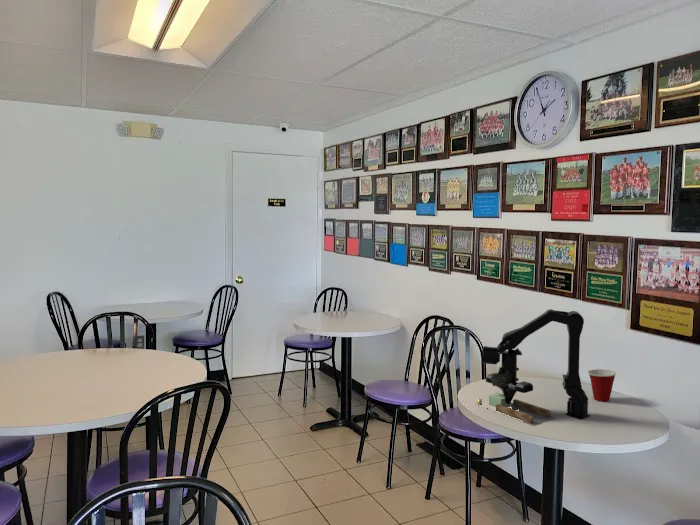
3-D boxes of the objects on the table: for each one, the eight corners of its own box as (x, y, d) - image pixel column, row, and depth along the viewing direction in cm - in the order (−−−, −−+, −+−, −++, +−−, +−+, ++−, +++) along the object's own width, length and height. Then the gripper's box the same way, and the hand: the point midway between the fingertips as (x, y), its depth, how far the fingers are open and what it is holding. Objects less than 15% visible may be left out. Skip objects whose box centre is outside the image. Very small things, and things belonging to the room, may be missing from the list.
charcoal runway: (556, 418, 201) (556, 417, 201) (533, 426, 193) (533, 425, 193) (497, 398, 224) (497, 397, 224) (474, 404, 215) (474, 404, 215)
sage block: (510, 406, 213) (510, 396, 213) (500, 409, 210) (501, 399, 209) (498, 402, 218) (498, 392, 218) (488, 405, 215) (488, 395, 214)
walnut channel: (550, 417, 202) (550, 410, 202) (530, 423, 195) (530, 417, 195) (515, 405, 215) (515, 399, 215) (495, 411, 208) (495, 405, 208)
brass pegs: (502, 399, 221) (502, 394, 221) (479, 406, 213) (479, 400, 213) (499, 398, 223) (499, 393, 222) (476, 405, 214) (476, 399, 214)
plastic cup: (588, 393, 229) (589, 366, 228) (616, 398, 224) (617, 370, 223) (584, 401, 220) (585, 372, 219) (613, 405, 215) (615, 376, 214)
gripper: (476, 363, 212) (476, 401, 213) (515, 373, 197) (515, 415, 198) (495, 359, 218) (494, 396, 220) (534, 369, 203) (533, 409, 204)
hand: (508, 404), depth 210 cm, fingers closed
